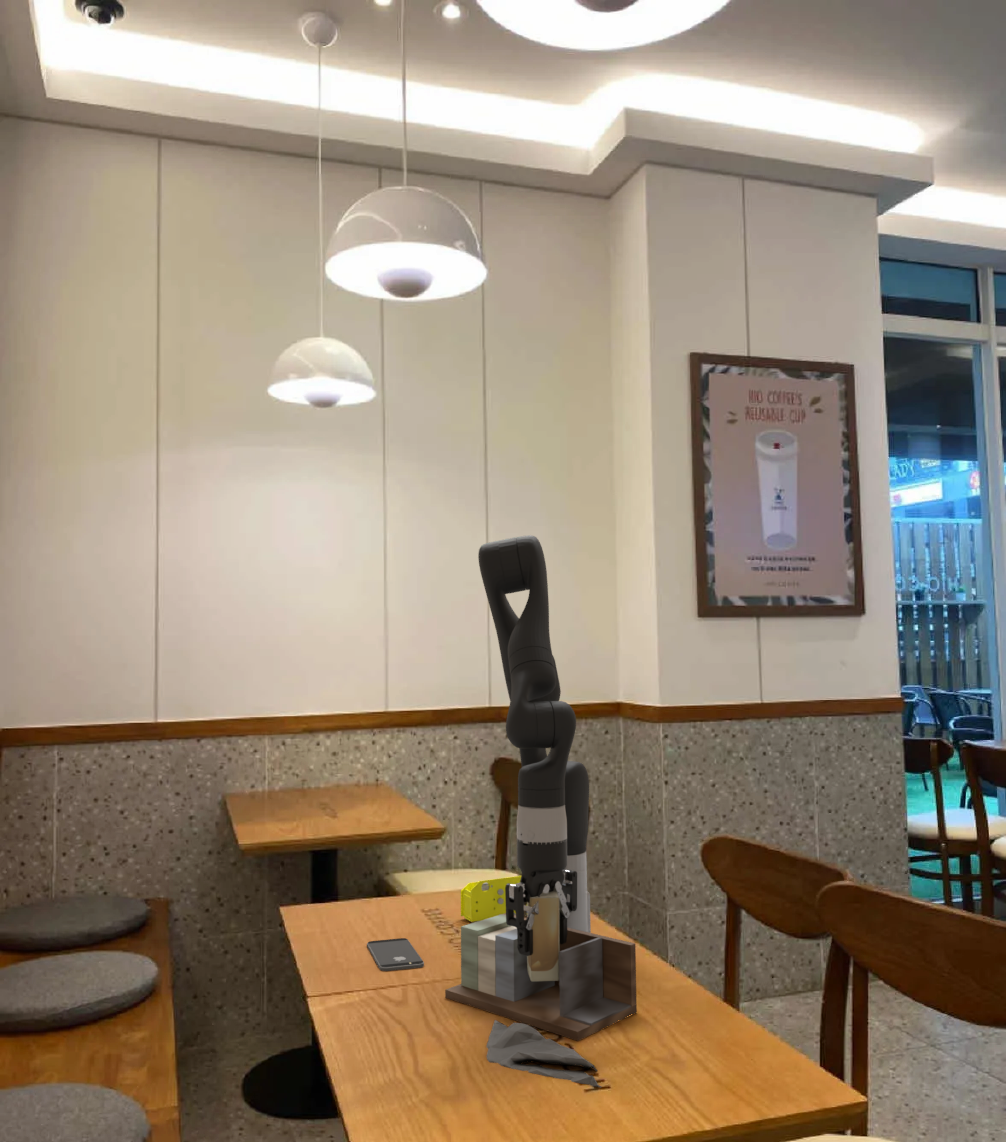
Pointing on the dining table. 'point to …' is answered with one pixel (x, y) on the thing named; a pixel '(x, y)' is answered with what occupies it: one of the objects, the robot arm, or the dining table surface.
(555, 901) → the skincare box
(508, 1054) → the cloth
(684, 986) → the dining table surface
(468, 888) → the yellow toy chassis
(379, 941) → the phone
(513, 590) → the robot arm
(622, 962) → the book shelf
